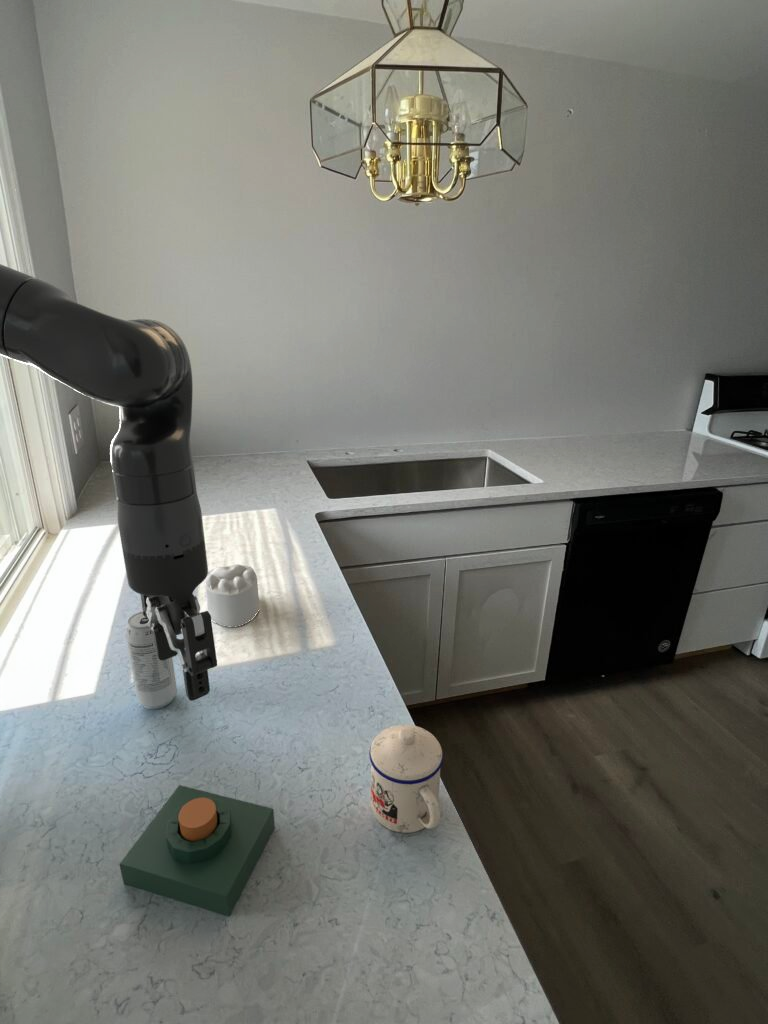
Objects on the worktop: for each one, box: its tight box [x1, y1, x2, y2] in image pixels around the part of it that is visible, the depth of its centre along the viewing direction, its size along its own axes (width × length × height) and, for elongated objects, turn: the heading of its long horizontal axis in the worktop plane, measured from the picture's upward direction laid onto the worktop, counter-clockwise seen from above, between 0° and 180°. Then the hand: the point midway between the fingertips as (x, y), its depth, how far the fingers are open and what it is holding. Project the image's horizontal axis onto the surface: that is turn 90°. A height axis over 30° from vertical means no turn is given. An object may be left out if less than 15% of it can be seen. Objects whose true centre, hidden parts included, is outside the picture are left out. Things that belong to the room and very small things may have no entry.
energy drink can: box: [124, 610, 178, 710], centre depth 87 cm, size 6×6×15 cm
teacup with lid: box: [368, 724, 444, 834], centre depth 68 cm, size 12×9×12 cm
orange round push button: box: [179, 798, 217, 841], centre depth 63 cm, size 4×4×2 cm
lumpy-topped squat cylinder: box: [203, 563, 260, 628], centre depth 114 cm, size 10×13×9 cm
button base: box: [119, 784, 276, 918], centre depth 64 cm, size 13×11×5 cm
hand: (182, 675), depth 60 cm, fingers open, 8 cm apart
